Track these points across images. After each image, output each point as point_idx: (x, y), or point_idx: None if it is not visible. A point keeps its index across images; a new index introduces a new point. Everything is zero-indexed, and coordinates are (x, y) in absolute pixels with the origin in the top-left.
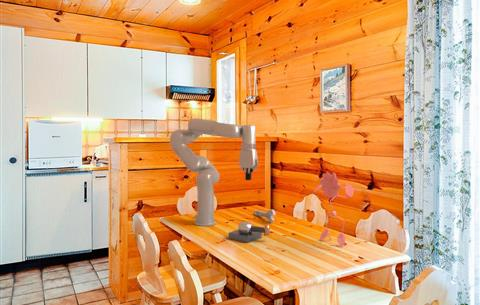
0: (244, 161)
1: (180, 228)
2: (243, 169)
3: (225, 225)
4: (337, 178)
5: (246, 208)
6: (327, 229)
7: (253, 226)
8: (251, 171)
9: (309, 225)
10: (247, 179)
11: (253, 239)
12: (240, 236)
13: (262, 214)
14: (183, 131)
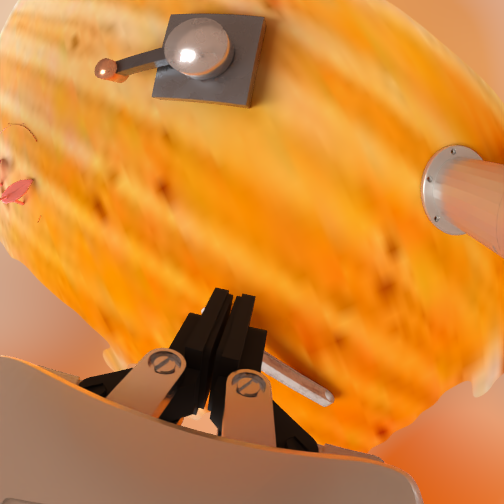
0: None
1: (488, 90)
2: (300, 435)
3: (378, 196)
4: None
5: (376, 432)
6: (4, 199)
7: (159, 53)
8: (120, 377)
9: (112, 326)
10: (219, 291)
11: None
12: (204, 15)
13: (281, 367)
14: None
